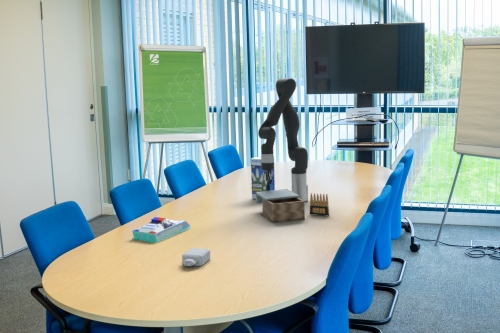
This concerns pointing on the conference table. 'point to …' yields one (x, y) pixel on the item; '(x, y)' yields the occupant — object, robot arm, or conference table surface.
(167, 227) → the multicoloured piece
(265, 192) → the box lid
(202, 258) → the charger
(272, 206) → the walnut box
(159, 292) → the conference table surface
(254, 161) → the string lights box
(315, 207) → the ammunition clip
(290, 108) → the robot arm
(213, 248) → the conference table surface
